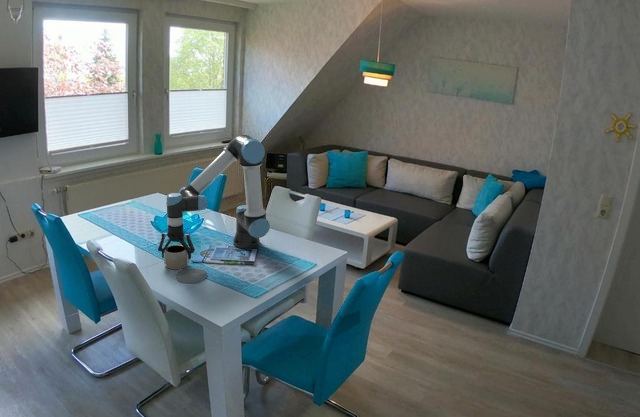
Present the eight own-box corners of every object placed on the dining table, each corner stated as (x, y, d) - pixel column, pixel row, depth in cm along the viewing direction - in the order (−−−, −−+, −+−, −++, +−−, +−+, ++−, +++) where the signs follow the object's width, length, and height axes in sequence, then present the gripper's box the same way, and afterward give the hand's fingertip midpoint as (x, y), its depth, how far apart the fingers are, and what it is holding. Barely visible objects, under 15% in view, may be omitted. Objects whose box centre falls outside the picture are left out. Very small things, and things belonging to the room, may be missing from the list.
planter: (179, 259, 265) (178, 242, 262) (192, 265, 258) (191, 248, 255) (161, 265, 257) (160, 248, 254) (174, 272, 250) (173, 255, 247)
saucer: (209, 270, 255) (209, 268, 254) (203, 284, 240) (203, 282, 240) (180, 268, 254) (180, 267, 254) (171, 282, 240) (171, 280, 240)
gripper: (200, 222, 254) (201, 262, 261) (154, 220, 254) (156, 259, 261) (196, 227, 247) (197, 268, 254) (149, 225, 246) (151, 265, 254)
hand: (177, 264), depth 257 cm, fingers closed on planter, 11 cm apart
